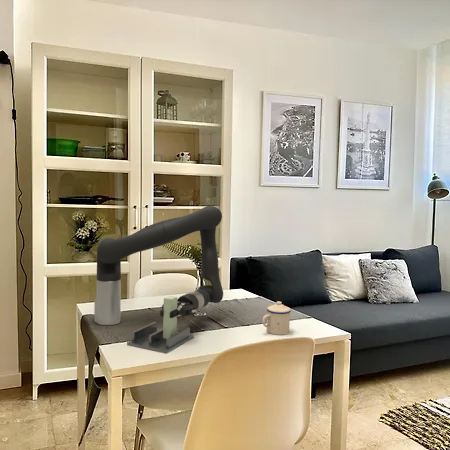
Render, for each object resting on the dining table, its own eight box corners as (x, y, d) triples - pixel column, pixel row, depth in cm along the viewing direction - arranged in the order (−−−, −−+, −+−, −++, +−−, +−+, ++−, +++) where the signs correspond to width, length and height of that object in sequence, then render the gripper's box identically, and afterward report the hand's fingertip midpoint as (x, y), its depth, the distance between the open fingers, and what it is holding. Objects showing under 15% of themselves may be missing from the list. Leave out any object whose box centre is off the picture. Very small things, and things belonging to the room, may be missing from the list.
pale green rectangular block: (163, 337, 155) (163, 298, 154) (169, 334, 159) (170, 295, 158) (170, 339, 154) (171, 299, 153) (176, 336, 158) (177, 297, 156)
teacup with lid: (279, 326, 179) (280, 297, 178) (294, 333, 171) (296, 303, 170) (255, 330, 172) (256, 301, 171) (269, 338, 165) (270, 307, 164)
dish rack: (127, 344, 153) (127, 333, 153) (156, 330, 170) (156, 320, 169) (166, 353, 147) (167, 341, 146) (193, 337, 163) (193, 326, 162)
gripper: (174, 290, 171) (148, 301, 156) (207, 295, 165) (183, 306, 150) (174, 310, 172) (148, 322, 156) (206, 315, 166) (183, 328, 150)
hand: (165, 314), depth 153 cm, fingers open, 3 cm apart
